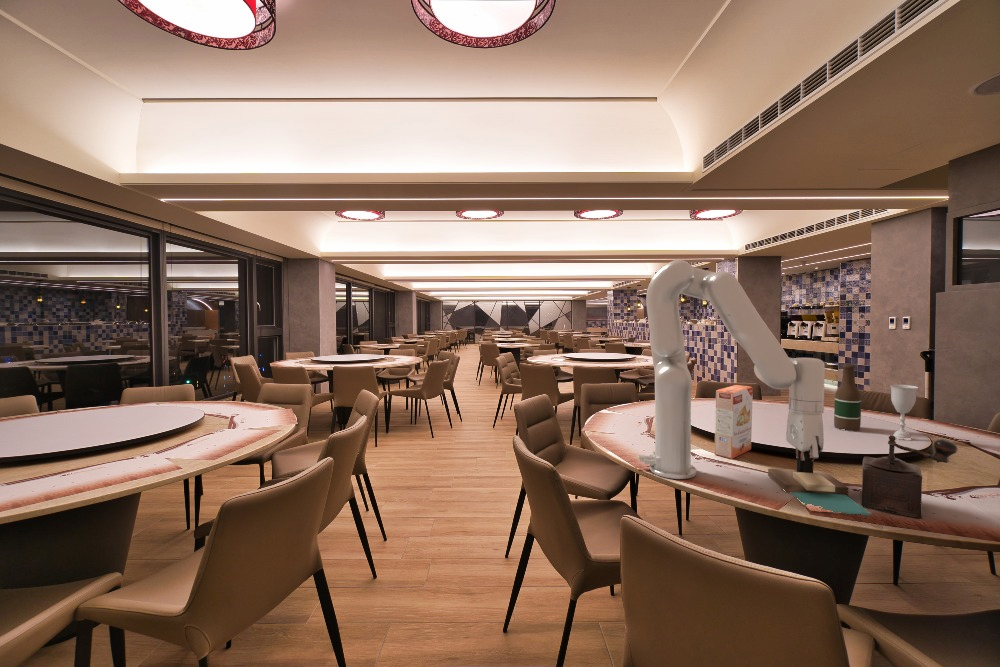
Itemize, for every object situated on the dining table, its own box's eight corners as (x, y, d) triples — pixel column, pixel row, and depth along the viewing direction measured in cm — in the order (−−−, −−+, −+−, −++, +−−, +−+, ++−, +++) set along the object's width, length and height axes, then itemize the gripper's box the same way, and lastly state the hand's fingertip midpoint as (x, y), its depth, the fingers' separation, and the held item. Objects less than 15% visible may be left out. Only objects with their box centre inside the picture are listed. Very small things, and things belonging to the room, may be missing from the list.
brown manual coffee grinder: (860, 507, 102) (862, 431, 101) (861, 491, 111) (863, 421, 110) (956, 528, 92) (959, 444, 91) (948, 508, 101) (952, 431, 100)
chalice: (892, 440, 150) (894, 387, 149) (884, 434, 156) (885, 384, 155) (920, 442, 147) (922, 388, 146) (910, 436, 153) (912, 385, 152)
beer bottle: (858, 427, 166) (860, 363, 164) (862, 432, 159) (864, 366, 157) (832, 424, 170) (834, 362, 168) (835, 429, 163) (836, 365, 162)
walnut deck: (785, 492, 111) (785, 484, 111) (768, 475, 122) (768, 468, 122) (848, 495, 109) (848, 487, 109) (824, 478, 120) (824, 471, 119)
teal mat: (810, 511, 101) (810, 510, 101) (790, 493, 111) (790, 491, 111) (870, 515, 99) (870, 513, 99) (845, 496, 109) (845, 494, 108)
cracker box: (733, 460, 135) (734, 392, 133) (713, 455, 139) (714, 389, 138) (753, 449, 143) (753, 386, 142) (733, 445, 148) (734, 383, 147)
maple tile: (806, 490, 108) (806, 484, 108) (793, 477, 116) (793, 471, 116) (834, 491, 106) (835, 485, 106) (819, 479, 114) (819, 473, 114)
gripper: (777, 399, 123) (776, 463, 124) (804, 412, 108) (803, 485, 110) (807, 399, 122) (806, 464, 123) (838, 412, 107) (836, 486, 108)
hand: (804, 474), depth 116 cm, fingers closed
